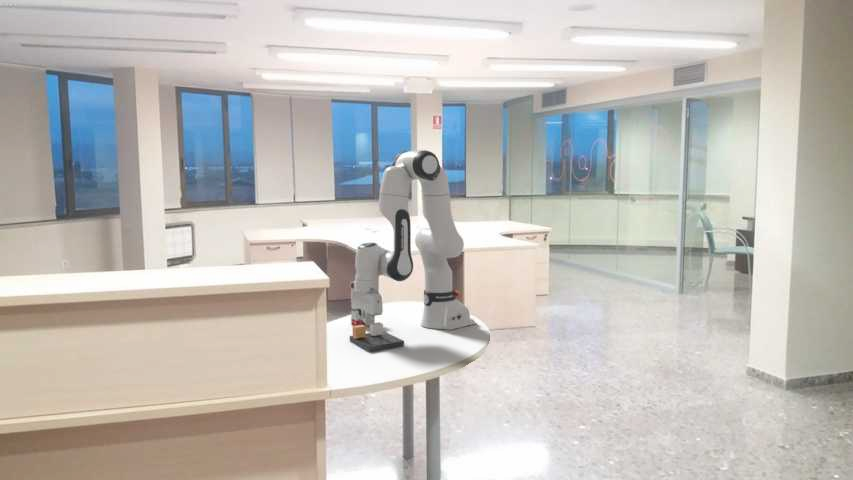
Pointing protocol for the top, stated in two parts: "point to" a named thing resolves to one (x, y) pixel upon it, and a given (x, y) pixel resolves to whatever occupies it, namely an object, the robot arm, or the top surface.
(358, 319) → the ink box
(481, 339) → the top surface
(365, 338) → the console
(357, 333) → the fader
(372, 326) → the fader
